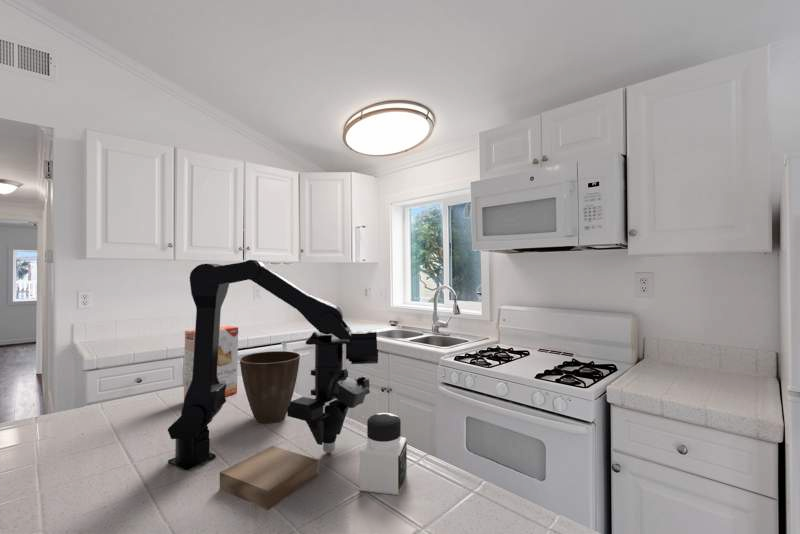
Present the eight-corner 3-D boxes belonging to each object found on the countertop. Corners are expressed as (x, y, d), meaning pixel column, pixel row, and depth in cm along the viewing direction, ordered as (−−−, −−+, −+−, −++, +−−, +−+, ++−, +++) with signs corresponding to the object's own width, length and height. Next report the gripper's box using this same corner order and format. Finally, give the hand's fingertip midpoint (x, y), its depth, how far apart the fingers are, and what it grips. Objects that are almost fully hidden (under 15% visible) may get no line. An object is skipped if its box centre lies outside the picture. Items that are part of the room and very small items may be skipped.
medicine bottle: (399, 496, 68) (399, 425, 68) (359, 491, 69) (359, 422, 69) (406, 474, 75) (406, 411, 75) (370, 471, 76) (370, 408, 76)
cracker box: (194, 406, 112) (194, 332, 112) (183, 402, 115) (183, 330, 115) (238, 393, 123) (238, 326, 124) (227, 390, 127) (227, 324, 127)
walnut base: (219, 489, 70) (219, 472, 70) (272, 460, 80) (272, 445, 80) (268, 509, 64) (268, 490, 64) (318, 475, 74) (318, 459, 74)
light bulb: (348, 451, 84) (348, 404, 84) (329, 463, 79) (329, 412, 79) (328, 445, 87) (328, 399, 87) (308, 455, 82) (308, 407, 82)
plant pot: (230, 417, 103) (230, 356, 103) (284, 404, 113) (284, 348, 114) (253, 435, 92) (253, 366, 92) (310, 418, 102) (310, 356, 102)
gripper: (330, 380, 71) (330, 468, 71) (385, 360, 87) (384, 431, 87) (285, 372, 77) (285, 453, 77) (344, 354, 93) (344, 421, 93)
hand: (328, 439), depth 83 cm, fingers closed on light bulb, 5 cm apart
